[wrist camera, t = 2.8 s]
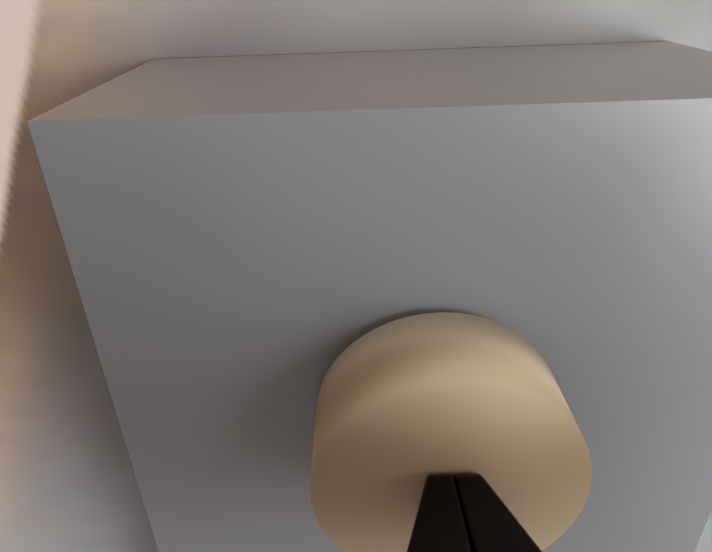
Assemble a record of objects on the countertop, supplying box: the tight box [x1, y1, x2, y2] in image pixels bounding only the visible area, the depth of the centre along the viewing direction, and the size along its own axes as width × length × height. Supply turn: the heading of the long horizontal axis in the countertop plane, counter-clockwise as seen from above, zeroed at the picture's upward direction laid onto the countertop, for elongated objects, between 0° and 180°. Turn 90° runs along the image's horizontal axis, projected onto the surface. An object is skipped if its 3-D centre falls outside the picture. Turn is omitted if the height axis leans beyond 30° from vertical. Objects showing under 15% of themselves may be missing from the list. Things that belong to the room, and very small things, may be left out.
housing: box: [27, 41, 712, 552], centre depth 16 cm, size 22×12×6 cm, turn 2°
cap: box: [310, 312, 593, 552], centre depth 12 cm, size 4×4×7 cm
